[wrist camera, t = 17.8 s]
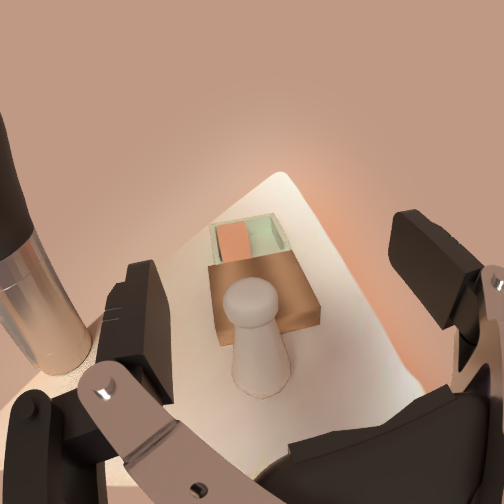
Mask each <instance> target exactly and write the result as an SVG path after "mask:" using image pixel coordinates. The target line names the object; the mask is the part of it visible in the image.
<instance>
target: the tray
mask: <svg viewBox="0 0 504 504" xmlns="http://www.w3.org/2000/svg"><path fill="white" fill-rule="evenodd" d="M242 221H244V222H245V225H246V228H247V232H248V238H249V244H250V251H251V258H254V257H259V256H264V255H269V254H274V253H279V252H284V251H289V250H290V246H289V241H288V239H287V237H286V235H285V233H284V231H283V229H282V228H281V226H280V224H279V222H278V220H277V218H276V216H275V214H274V213H271V214H265V215H259V216H254V217H248V218H243V219H238V220H232V221H227V222H222V223H217V224H211V225H209V226H210V234H211V241H212V249H213V256H214V261H215V265H218V264H223V260H222V256H221V251H220V245H219V240H218V233H217V226H219V225H225V224H230V223H236V222H242Z"/></svg>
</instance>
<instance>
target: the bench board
mask: <svg viewBox="0 0 504 504" xmlns="http://www.w3.org/2000/svg"><path fill="white" fill-rule="evenodd" d="M208 271H209V280H210V289H211V297H212V306H213V314H214V322H215V329H216V333H217V336H218V340H219V343H220V346H223V345H229V344H233V342H234V324H233V323H231V322H230V321H229V319H228V317H227V315H226V313H225V311H224V308H223V297H224V292H225V291H226V290H227V289H228V287H229V286H230V285H231V284H233V283H234V282H236V281H238V280H240V279H243V278H248V277H256V278H261V279H264V280H266V281H268V282H270V283H271V284H272V285H273V286H274V287H275V289H276V291H277V294H278V312H277V314H276V315H275V320H276V323H277V326H278V329H279V332H280V334H281V333H286V332H290V331H294V330H299V329H303V328H307V327H311V326H315V325H319V324H320V309H321V306H320V304H319V302H318V300H317V298H316V296H315V294H314V292H313V290H312V288H311V286H310V284H309V282H308V280H307V278H306V276H305V274H304V272H303V271H302V269H301V267H300V265H299V263H298V261H297V259H296V257H295V255H294V253H293V251H292V250H289V251H284V252H279V253H274V254H269V255H264V256H259V257H254V258H250V259H244V260H239V261H233V262H228V263H223V264H218V265H213V266H208Z"/></svg>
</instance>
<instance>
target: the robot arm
mask: <svg viewBox="0 0 504 504" xmlns="http://www.w3.org/2000/svg"><path fill="white" fill-rule="evenodd" d="M388 256H389V260H390V263H391V265H392V267H393V268H394V269H395V270H396V271H397V273H398V274H399V275H400V276H401V278H402V279H403V280H404V281H405V283H406V284H407V285H408V286H409V287H410V289H411V290H412V291H413V293H414V294H415V295H416V296H417V297H418V299H419V300H420V301H421V303H422V304H423V305H424V306H425V308H426V309H427V310H428V312H429V313H430V314H431V316H432V317H433V318H434V320H435V321H436V322H437V324H438V325H439V326H440V328H441V329H442V330H444V329H446V328H449V327H451V326H453V325H455V326H456V327H457V329H456V331H455V334H454V355H453V373H452V381H451V385H450V388H449V386H448V385H447V384H446V385H444V386H442V387H440V388H438V389H436V390H434V391H432V392H430V393H428V394H426V395H424V396H421V397H419V398H417V399H415V400H414V401H413V402H411V403H410V404H409V405H408V406H406V407H405V408H404V409H403V410H401V411H400V412H399V413H398V414H396V415H395V416H394V417H392V418H391V419H390V420H388V421H387V422H386V423H384V424H383V425H380V426H376V427H368V428H360V429H351V430H341V431H332V432H329V433H326V434H323V435H320V436H316V437H313V438H309V439H306V440H302V441H298V442H295V443H291V444H288V454H287V455H285V456H284V457H282V458H280V459H278V460H277V461H275V462H274V463H272V464H271V465H269V466H268V467H267V468H266V469H264V470H263V471H262V472H261V473H260V474H259V475H258V476H257V477H256V478H255V479H254V480H252V479H250V478H249V477H247V476H246V475H245V474H243V473H242V472H241V471H240V470H238V469H237V468H236V467H234V466H233V465H232V464H231V463H229V462H228V461H227V460H226V459H224V458H223V457H222V456H221V455H219V454H218V453H217V452H216V451H215V450H213V449H212V448H211V447H210V446H209V445H207V444H206V443H205V442H204V441H203V440H202V439H201V438H199V437H198V436H197V435H196V434H195V433H194V432H193V431H191V430H190V429H189V428H188V427H187V426H186V425H185V424H183V423H182V422H181V421H179V420H176V419H174V418H173V417H172V416H171V415H170V414H169V413H168V412H167V411H166V410H165V409H164V408H163V405H167V404H174V398H173V381H172V360H171V327H170V309H169V304H168V300H167V297H166V294H165V291H164V288H163V286H162V283H161V280H160V277H159V274H158V272H157V269H156V266H155V264H154V261H153V260H147V261H142V262H137V263H132V264H129V265H128V268H127V274H126V280H125V282H121V283H116V285H115V286H114V287H113V289H112V290H111V292H110V293H109V295H108V297H107V301H106V307H105V312H104V316H103V323H102V327H101V332H100V338H99V344H98V350H97V356H96V362H95V364H94V365H93V366H91V367H90V368H88V369H87V370H86V371H85V372H84V373H83V375H82V376H81V378H80V380H79V383H78V388H76V389H74V390H72V391H69V392H67V393H64V394H62V395H59V396H57V397H54V398H52V399H50V398H49V397H48V396H47V395H46V394H45V393H44V392H43V391H41V390H37V389H33V390H29V391H26V392H24V393H23V394H21V395H20V396H19V397H18V398H17V400H16V401H15V402H14V404H13V406H12V409H11V413H10V419H9V426H8V433H7V441H6V449H5V460H4V473H3V504H108V500H107V489H106V476H105V461H106V460H109V459H111V458H114V457H117V456H120V457H121V458H122V460H123V461H124V464H123V465H124V468H125V469H126V471H127V472H128V474H129V475H130V476H131V477H132V479H133V480H134V481H135V482H136V483H137V484H138V485H139V487H140V488H141V489H142V490H143V491H144V492H145V493H146V494H147V495H148V497H149V498H150V499H151V500H152V501H153V502H154V503H155V504H504V268H502V267H499V266H495V265H489V266H486V267H484V266H483V265H482V264H481V263H480V262H479V261H478V260H477V259H476V258H475V257H474V256H473V255H472V254H471V253H470V252H469V251H468V250H467V249H466V248H465V247H463V246H462V245H461V244H459V242H458V241H457V240H456V239H455V238H454V237H451V235H450V234H449V233H448V232H447V231H446V230H444V229H443V228H442V227H441V226H439V225H437V224H435V223H433V222H431V221H430V220H429V219H427V218H426V217H425V216H424V215H423V214H422V213H420V212H419V211H418V210H416V209H413V210H407V211H402V212H397V213H396V214H395V215H394V217H393V223H392V230H391V236H390V243H389V248H388ZM0 322H1V324H2V325H3V327H4V328H5V329H6V331H7V332H8V334H9V335H10V336H11V338H12V339H13V341H14V342H15V343H16V345H17V346H18V347H19V348H20V350H21V351H22V352H23V353H24V355H25V356H26V357H27V359H28V360H29V361H30V362H31V364H32V365H33V366H34V367H35V368H40V369H42V370H43V371H44V372H45V373H47V374H49V375H62V374H66V373H68V372H70V371H72V370H73V369H75V368H76V367H78V366H79V365H80V364H81V363H82V362H83V361H84V359H85V358H86V356H87V355H88V353H89V351H90V348H91V336H90V334H89V332H88V330H87V328H86V327H85V325H84V324H83V322H82V320H81V318H80V317H79V315H78V313H77V311H76V310H75V308H74V306H73V304H72V303H71V301H70V299H69V297H68V295H67V294H66V292H65V290H64V288H63V286H62V284H61V282H60V280H59V279H58V276H57V275H56V273H55V271H54V269H53V267H52V265H51V262H50V260H49V258H48V256H47V254H46V252H45V250H44V248H43V246H42V243H41V241H40V239H39V237H38V235H37V232H36V230H35V228H34V225H33V223H32V220H31V218H30V215H29V212H28V209H27V206H26V201H25V198H24V195H23V192H22V189H21V186H20V183H19V180H18V177H17V173H16V170H15V166H14V162H13V158H12V154H11V150H10V145H9V141H8V137H7V132H6V128H5V125H4V122H3V118H2V116H1V113H0Z"/></svg>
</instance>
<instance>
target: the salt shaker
mask: <svg viewBox="0 0 504 504" xmlns="http://www.w3.org/2000/svg"><path fill="white" fill-rule="evenodd" d="M223 308H224V311H225V313H226V315H227V317H228V319H229V321H230V322H231V323H233V324H234V342H233V365H232V376H233V379H234V381H235V383H236V385H237V387H238V388H240V389H241V390H242V391H244V392H245V393H247V394H249V395H253V396H256V397H259V398H261V399H265V398H267V397H269V396H272V395H274V394H277V393H279V392H280V391H281V390H282V389H283V388H284V386H285V385H286V383H287V381H288V379H289V377H290V374H291V373H290V361H289V358H288V355H287V352H286V349H285V346H284V343H283V340H282V338H281V335H280V332H279V329H278V326H277V323H276V320H275V315H276V314H277V312H278V294H277V291H276V289H275V287H274V286H273V285H272V284H271V283H270V282H268V281H266V280H264V279H261V278H256V277H248V278H243V279H240V280H238V281H236V282H234V283H233V284H231V285H230V286H229V287H228V289H227V290H226V291H225V292H224V297H223Z"/></svg>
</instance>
